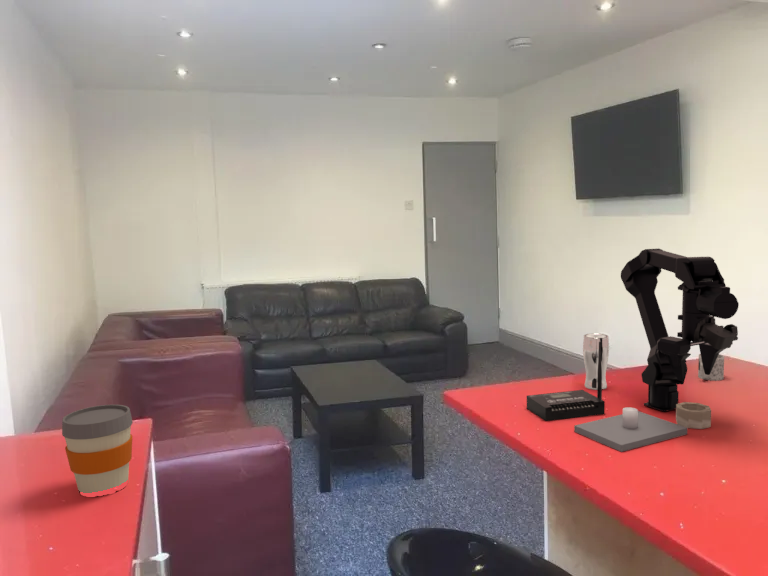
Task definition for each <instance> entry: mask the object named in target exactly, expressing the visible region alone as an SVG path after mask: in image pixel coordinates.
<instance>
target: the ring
mask: <svg viewBox="0 0 768 576" xmlns="http://www.w3.org/2000/svg"><path fill="white" fill-rule="evenodd" d="M675 423H676V424H678V425H681V426H684V427H686V428H687V429H698V430H703V429H707V428H711V426H712V425H711V424H712V409H711V407H710V406H709V405H706V404H703V403H699V402H690V401H689V402H688V401H683V402H678V404H676V409H675Z"/></svg>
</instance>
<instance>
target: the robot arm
mask: <svg viewBox="0 0 768 576" xmlns="http://www.w3.org/2000/svg"><path fill="white" fill-rule="evenodd" d="M662 270H665V271H667V272H669V273H673V274H674V276H675V278H676V279H678V280H679V281H681V282H682V283H681V284H680V285H679V286H677V290H679V291H682V299H681V300H682V304H681V305H682V306H681V309H682V310H681V314H677V320H679V321H681V331H679V332H677V335H676V336H677V337H676V336H672V335H671V336H669V334H668V330H667V328H666V324H665V321H664V317H663V315H662V311H661V309H660V305H659V302H658V299H657V297H656V288H657V285H658V282H659V281H658V277H659V276H660V274H661V273H662ZM620 280H621V281H622V283H623V286H624V288H625V290H626V291H627V292H628V294H630V295H631V296H632V297H633V298H634V299H635V301H636V305H637V308H638V311H639V315H640V318H641V322H642V325H643V328H644V332H645V334H646V338H647V342H648V345H649V348H650V350H649V353H648V356H647V360H646V361H647V366H646V367H645V368H644V370H643V371H642V372H641V380H642V383H643V384H646V385H648V389H647V390H648V392H647V402H644V403H643V406H645V407H648V408H651V409H654V410H658V411H660V412H669V411H673V410H676V404H679V394H680V393H679V391H678V385H684V383H685V379H686V376H687V374H688V373H687V372H688V365H687V359H688V358H689V357H690V356H691V353H689V352H690V350H691V347H694V346H698V347H699V352H700V353H699V354H701V359H702V364H703V369H704V372H705V374H706V375H710V373H711V371H712V369H713V366H714V364H715V361H716V359H717V357H718V355H719V354H720V353H721V352H723V351H725V350H726V349H730V348H731V346H732V345H733V342H734V341H738V339H739V337H738V333H739V331H738V326H737V325H735V324H733V323H731V324H726V325H725V326H724V325H718V324H717V323H716V318H718V319H723V320H727V319H731V318H732V317H734V316H735V315H736V314H737V312H738V310H739V301H738V298H737V297H736V296H735V295H734V294H733V293H731V288H730V286H727V284H726V283H725V279H724V277H723V276H722V274H721V271H720V269H719V267H718V265H717V263H716V262H715V259H714V258H713V257H711V256H686V255H680V254H677V253H673V252H670V251H666V250H663V249H661V248H645V249H643V250H641V251H640V252H639V254H638V255H637V256H635V257H634V258H632V259H629V261H628V262H627V263H626V264H625V265H624V267H623V268H622V269H621V271H620Z"/></svg>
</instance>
